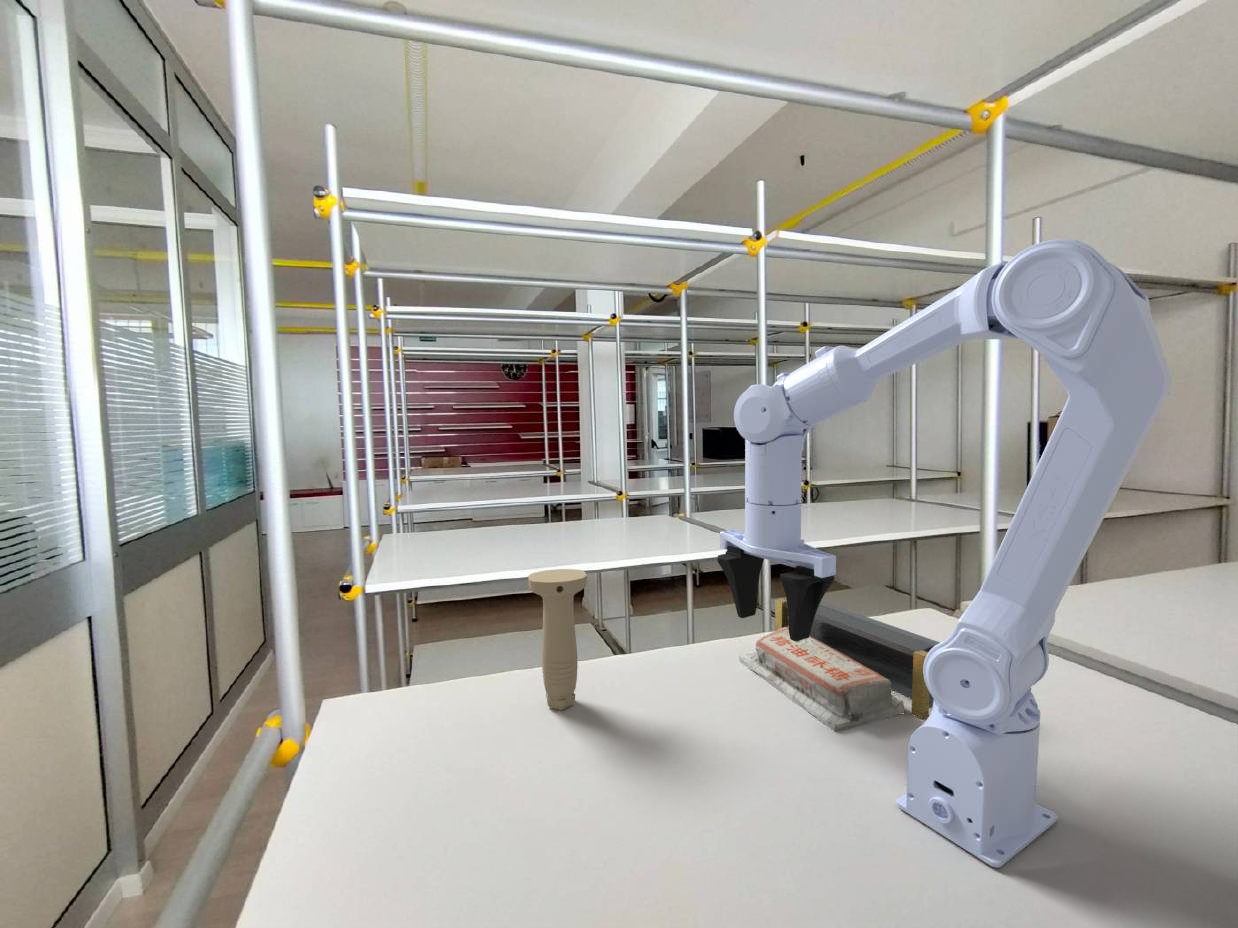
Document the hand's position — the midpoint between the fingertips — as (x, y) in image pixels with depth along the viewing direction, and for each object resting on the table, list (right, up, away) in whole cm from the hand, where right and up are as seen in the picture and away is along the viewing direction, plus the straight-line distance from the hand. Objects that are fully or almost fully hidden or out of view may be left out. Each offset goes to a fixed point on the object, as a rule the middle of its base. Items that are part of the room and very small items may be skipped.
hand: (771, 626), depth 61 cm
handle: (-23, -10, +4) cm, 25 cm away
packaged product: (+7, -10, +7) cm, 14 cm away
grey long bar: (+13, -9, +10) cm, 18 cm away
